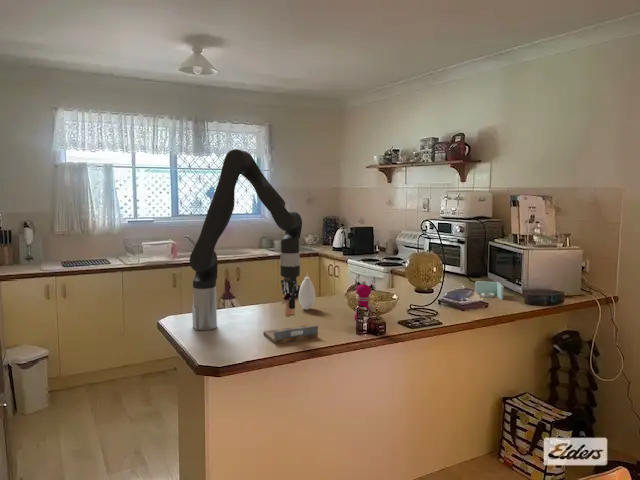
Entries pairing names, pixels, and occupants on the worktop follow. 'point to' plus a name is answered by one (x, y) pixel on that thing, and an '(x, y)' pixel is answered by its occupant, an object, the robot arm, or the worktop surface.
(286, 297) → the grandmother figurine
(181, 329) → the worktop surface
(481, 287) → the l-shaped corner panel
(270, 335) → the shelf board
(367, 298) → the pepper mill
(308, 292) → the sauce bottle
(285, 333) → the price rail
